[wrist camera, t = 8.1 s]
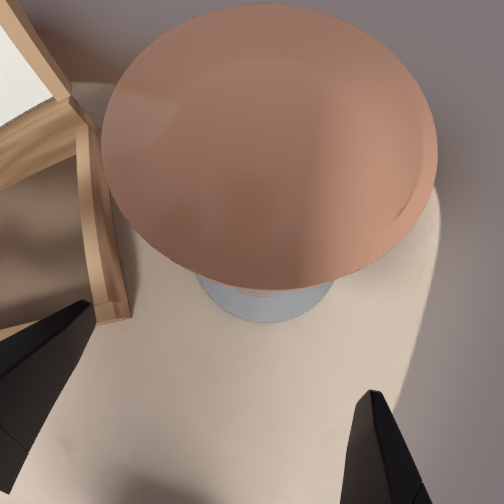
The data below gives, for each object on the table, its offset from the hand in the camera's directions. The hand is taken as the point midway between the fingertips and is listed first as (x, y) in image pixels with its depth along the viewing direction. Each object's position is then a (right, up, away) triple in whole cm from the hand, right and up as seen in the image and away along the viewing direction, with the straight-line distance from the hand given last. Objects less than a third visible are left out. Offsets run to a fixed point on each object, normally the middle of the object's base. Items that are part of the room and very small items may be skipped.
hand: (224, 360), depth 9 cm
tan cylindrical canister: (+1, +4, +10) cm, 11 cm away
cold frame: (-17, +3, +11) cm, 21 cm away
